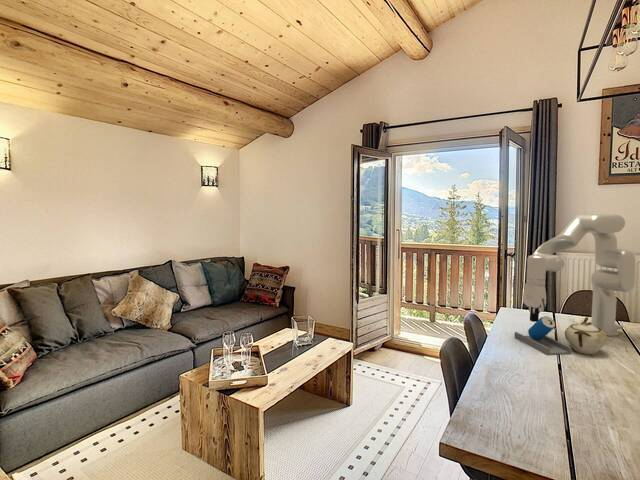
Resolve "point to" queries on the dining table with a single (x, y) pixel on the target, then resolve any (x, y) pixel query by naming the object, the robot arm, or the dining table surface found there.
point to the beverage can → (541, 328)
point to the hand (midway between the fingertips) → (534, 321)
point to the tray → (545, 345)
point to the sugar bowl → (585, 337)
